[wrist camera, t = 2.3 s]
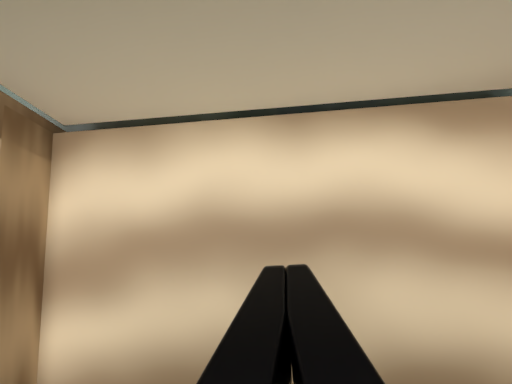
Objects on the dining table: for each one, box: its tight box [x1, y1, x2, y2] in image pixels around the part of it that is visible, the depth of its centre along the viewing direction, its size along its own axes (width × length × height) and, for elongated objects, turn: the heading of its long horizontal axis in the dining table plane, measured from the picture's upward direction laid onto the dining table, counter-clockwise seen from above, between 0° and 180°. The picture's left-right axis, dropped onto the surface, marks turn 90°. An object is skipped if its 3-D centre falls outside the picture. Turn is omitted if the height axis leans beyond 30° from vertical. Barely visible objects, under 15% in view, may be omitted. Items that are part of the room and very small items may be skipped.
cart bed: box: [0, 91, 512, 384], centre depth 14 cm, size 14×26×13 cm, turn 93°
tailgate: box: [0, 0, 512, 125], centre depth 13 cm, size 2×22×12 cm, turn 93°
